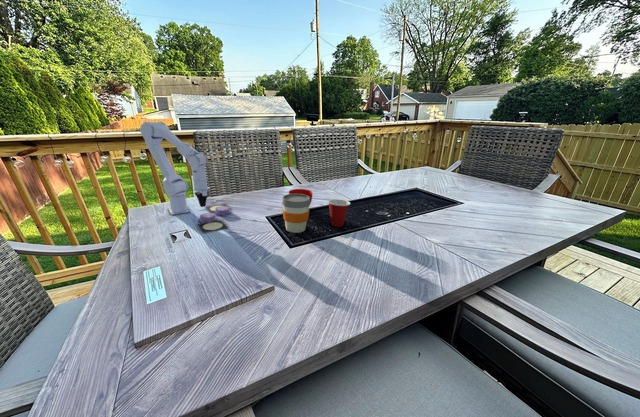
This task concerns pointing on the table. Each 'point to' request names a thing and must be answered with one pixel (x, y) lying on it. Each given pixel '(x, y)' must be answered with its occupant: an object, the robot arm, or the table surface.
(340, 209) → the plastic cup
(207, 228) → the pad
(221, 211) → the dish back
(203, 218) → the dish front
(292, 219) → the reusable coffee cup
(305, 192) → the ceramic cup
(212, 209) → the pad
